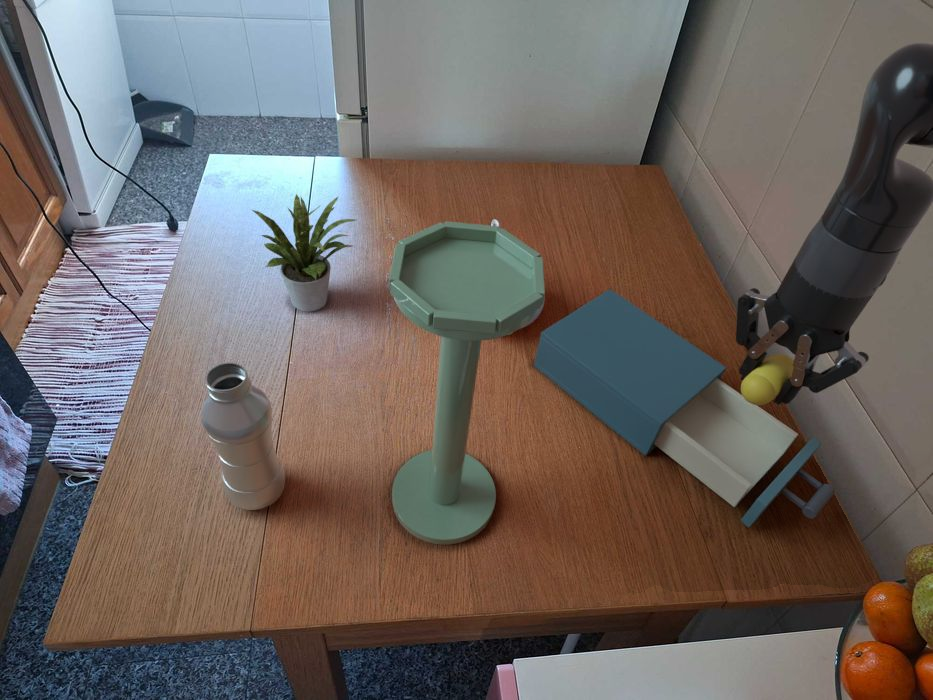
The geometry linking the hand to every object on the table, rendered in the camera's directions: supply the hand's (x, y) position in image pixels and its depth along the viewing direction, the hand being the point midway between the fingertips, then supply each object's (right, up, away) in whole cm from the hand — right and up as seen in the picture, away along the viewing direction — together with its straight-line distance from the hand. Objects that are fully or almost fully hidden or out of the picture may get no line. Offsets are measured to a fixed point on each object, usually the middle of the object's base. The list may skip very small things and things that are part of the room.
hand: (763, 388), depth 73 cm
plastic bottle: (-57, -12, +1) cm, 59 cm away
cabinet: (-12, 0, +17) cm, 21 cm away
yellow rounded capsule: (0, +1, -1) cm, 2 cm away
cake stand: (-36, -13, +2) cm, 39 cm away
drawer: (-1, -9, +9) cm, 13 cm away
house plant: (-56, +11, +24) cm, 62 cm away
